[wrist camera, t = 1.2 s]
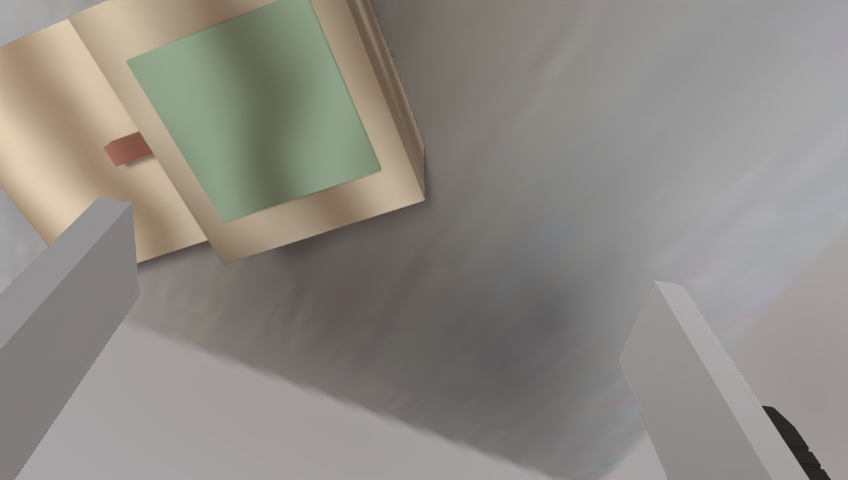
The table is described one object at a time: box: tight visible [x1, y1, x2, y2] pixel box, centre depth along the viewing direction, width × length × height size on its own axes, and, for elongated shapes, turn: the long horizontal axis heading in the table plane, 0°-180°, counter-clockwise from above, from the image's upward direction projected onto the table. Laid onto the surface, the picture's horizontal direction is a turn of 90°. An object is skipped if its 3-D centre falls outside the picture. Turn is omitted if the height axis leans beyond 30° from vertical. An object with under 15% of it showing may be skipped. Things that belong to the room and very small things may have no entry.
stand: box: [0, 0, 425, 264], centre depth 33 cm, size 24×14×8 cm, turn 109°
